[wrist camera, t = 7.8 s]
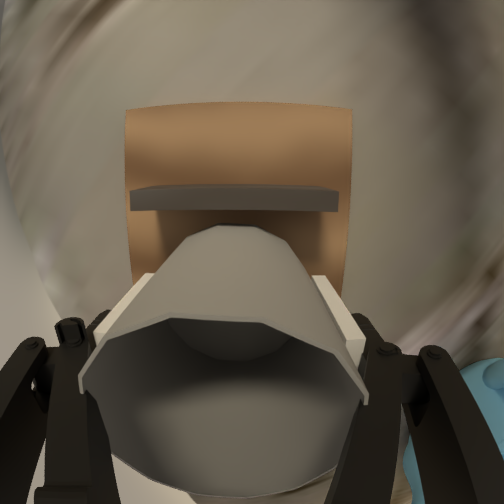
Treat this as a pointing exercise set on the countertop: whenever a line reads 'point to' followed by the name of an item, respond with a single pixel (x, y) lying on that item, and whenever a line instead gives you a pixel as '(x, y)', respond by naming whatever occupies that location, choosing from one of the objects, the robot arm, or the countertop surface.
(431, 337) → the countertop surface
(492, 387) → the teapot
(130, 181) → the end holder
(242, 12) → the countertop surface
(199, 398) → the cup
